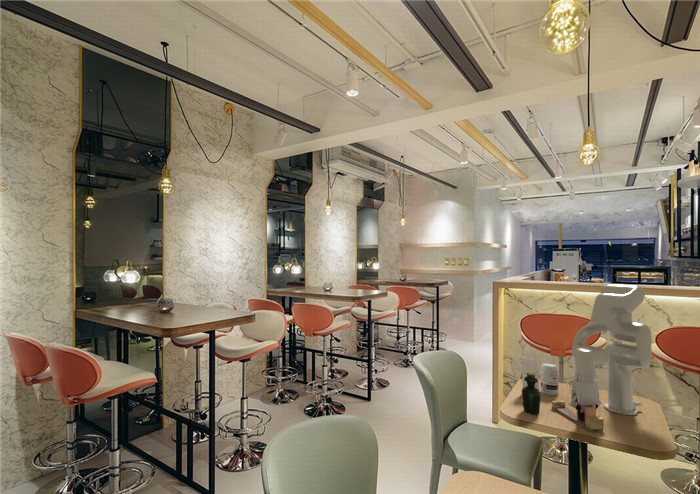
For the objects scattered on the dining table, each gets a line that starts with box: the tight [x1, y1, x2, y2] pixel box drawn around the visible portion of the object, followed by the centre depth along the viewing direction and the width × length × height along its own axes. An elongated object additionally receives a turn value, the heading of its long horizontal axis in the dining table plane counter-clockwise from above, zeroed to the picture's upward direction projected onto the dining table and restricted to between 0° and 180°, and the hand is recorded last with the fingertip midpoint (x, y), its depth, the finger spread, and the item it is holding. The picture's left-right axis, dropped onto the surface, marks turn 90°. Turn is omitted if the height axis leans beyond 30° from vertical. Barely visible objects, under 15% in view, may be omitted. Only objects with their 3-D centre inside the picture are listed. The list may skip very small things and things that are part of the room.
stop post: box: [586, 415, 605, 430], centre depth 148 cm, size 6×2×4 cm, turn 97°
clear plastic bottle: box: [521, 351, 540, 390], centre depth 189 cm, size 6×6×22 cm
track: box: [551, 400, 604, 433], centre depth 159 cm, size 6×23×4 cm, turn 7°
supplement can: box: [540, 362, 559, 396], centre depth 190 cm, size 8×8×15 cm
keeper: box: [576, 405, 597, 424], centre depth 153 cm, size 4×6×7 cm, turn 7°
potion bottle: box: [521, 372, 542, 416], centre depth 166 cm, size 8×8×18 cm
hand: (586, 419), depth 153 cm, fingers closed on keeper, 4 cm apart
